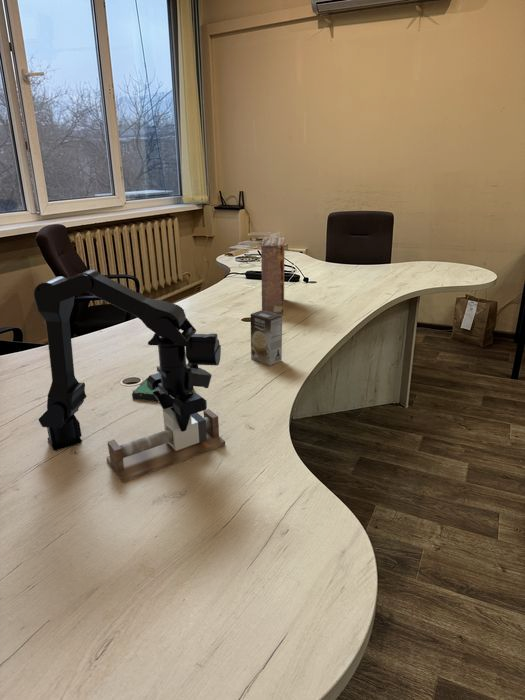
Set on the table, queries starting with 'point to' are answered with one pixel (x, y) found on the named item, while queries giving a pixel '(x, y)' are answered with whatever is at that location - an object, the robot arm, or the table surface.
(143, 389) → the disk drive
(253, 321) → the coffee box
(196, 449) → the pipe rig
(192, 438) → the sleeve
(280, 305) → the book
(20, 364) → the table surface
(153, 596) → the table surface
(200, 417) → the dark square collar
